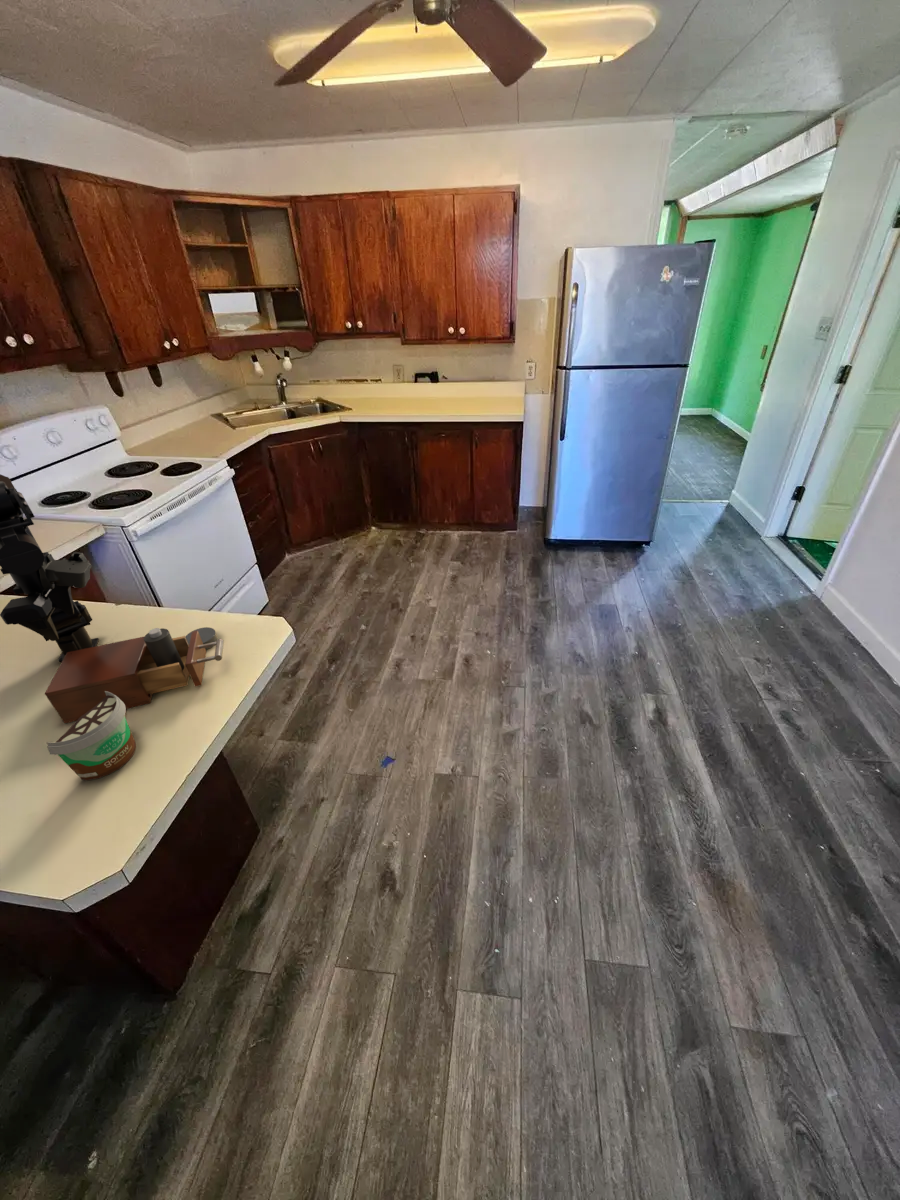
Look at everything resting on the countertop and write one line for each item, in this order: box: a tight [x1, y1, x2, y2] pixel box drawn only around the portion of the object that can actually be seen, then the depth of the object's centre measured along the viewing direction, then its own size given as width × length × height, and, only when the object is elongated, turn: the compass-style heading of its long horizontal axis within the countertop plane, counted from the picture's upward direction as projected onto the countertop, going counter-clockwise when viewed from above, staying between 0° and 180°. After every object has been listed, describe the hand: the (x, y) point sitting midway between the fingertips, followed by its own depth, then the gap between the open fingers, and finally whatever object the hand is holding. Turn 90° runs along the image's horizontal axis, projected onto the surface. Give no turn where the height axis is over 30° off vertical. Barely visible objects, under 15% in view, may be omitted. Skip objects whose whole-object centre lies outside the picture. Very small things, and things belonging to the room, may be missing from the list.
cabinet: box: [44, 636, 154, 724], centre depth 95 cm, size 15×13×8 cm
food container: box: [46, 691, 137, 781], centre depth 80 cm, size 12×6×10 cm, turn 168°
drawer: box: [137, 630, 225, 694], centre depth 98 cm, size 18×11×6 cm, turn 109°
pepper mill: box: [143, 627, 184, 670], centre depth 96 cm, size 4×4×10 cm
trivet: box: [184, 626, 219, 651], centre depth 109 cm, size 7×7×2 cm
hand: (63, 626), depth 94 cm, fingers open, 9 cm apart
